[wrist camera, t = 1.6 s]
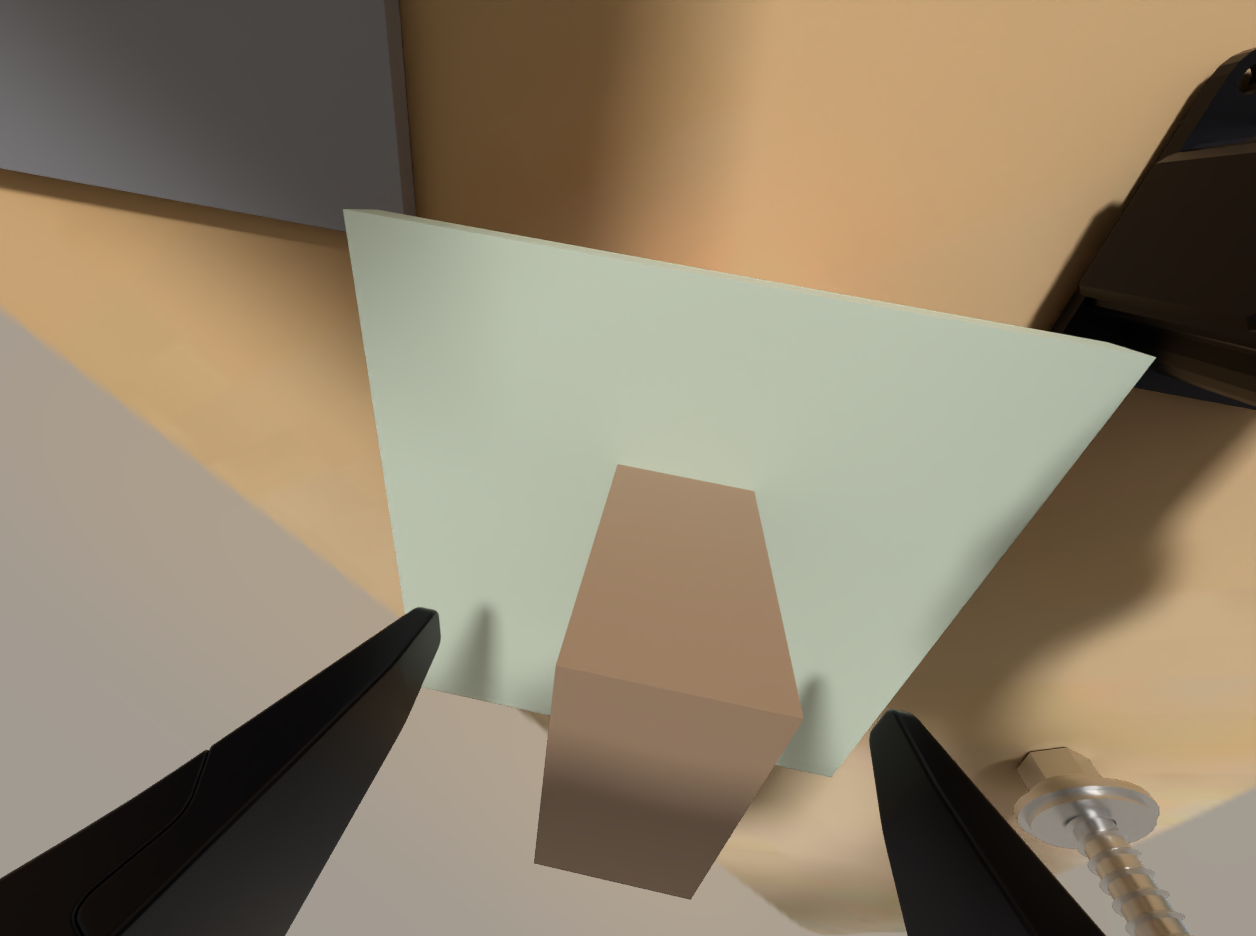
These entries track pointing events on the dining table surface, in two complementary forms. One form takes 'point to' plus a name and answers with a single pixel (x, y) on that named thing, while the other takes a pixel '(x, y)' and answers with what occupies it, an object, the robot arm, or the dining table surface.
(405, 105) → the mat
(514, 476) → the lid
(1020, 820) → the screw
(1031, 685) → the dining table surface
